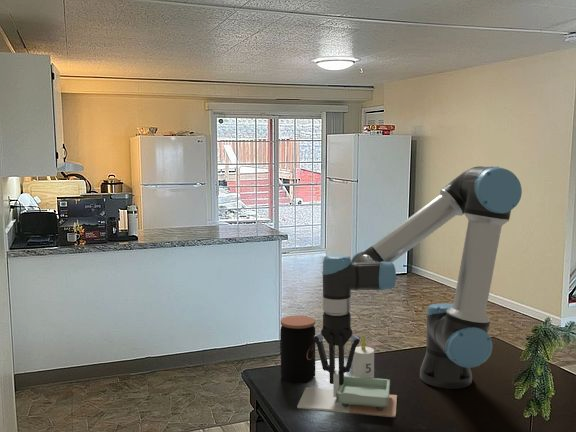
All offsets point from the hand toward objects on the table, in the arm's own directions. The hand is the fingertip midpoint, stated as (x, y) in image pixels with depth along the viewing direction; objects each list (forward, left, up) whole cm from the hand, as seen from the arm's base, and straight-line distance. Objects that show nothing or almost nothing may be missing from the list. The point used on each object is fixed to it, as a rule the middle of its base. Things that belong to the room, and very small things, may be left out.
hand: (336, 395), depth 150 cm
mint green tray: (-7, 0, -2) cm, 8 cm away
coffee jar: (+14, -14, -2) cm, 20 cm away
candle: (-6, -13, -2) cm, 14 cm away
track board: (-3, 0, -2) cm, 4 cm away
